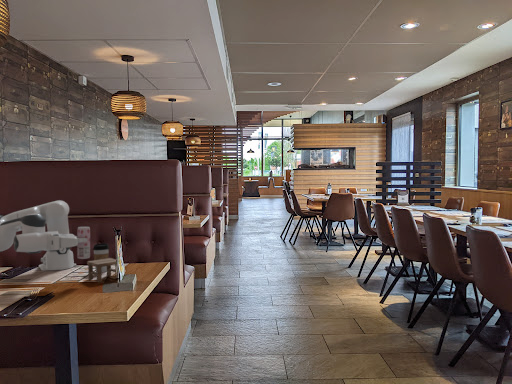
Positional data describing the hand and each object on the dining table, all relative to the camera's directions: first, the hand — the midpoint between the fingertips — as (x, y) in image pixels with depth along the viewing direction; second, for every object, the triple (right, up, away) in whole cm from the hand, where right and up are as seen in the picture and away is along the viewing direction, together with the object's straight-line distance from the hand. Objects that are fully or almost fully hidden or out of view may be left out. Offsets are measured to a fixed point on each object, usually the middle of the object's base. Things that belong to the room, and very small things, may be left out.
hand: (85, 238), depth 194 cm
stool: (+6, -21, +8) cm, 23 cm away
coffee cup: (-2, -21, +25) cm, 33 cm away
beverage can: (-1, -10, 0) cm, 10 cm away
